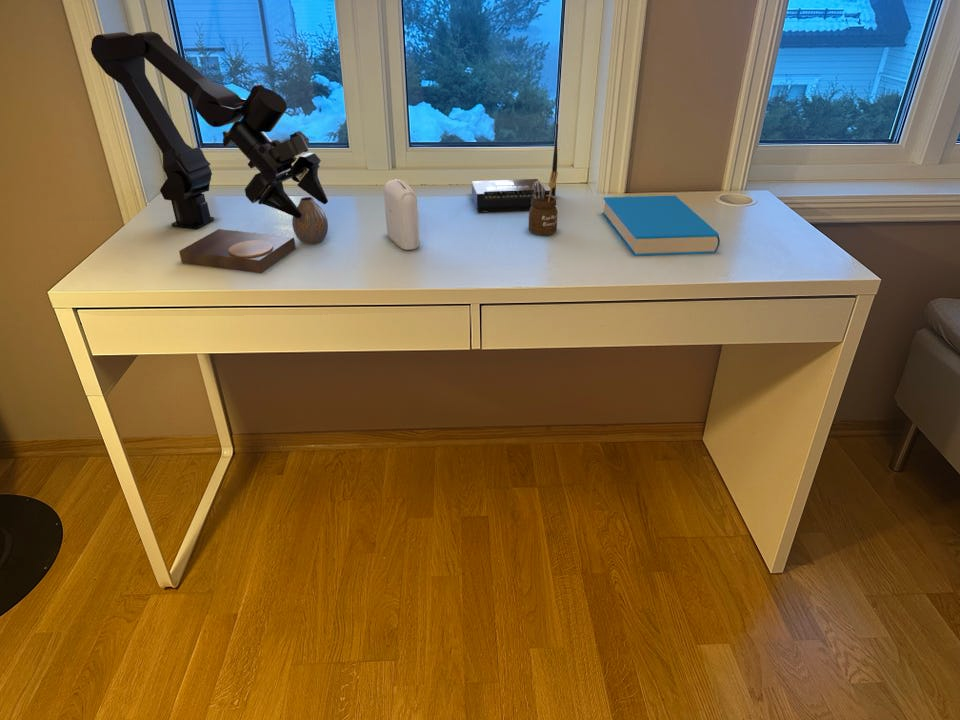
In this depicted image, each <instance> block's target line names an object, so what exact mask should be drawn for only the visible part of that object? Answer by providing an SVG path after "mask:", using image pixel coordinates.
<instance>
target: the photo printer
mask: <svg viewBox="0 0 960 720" xmlns="http://www.w3.org/2000/svg"><path fill="white" fill-rule="evenodd" d="M383 197H384V198H383V199H384V210H385V211H384V212H385V222H386V232H387V237H388V238H389V239H390V240H391V241H392V242H393V243H394V244H395V245H397V246H398V247H399V248H400V249H402V250H405V251H412V250H416V249H417V248H418V247H420V230H419V211H418V199H417V195H416V193H415V191H414V189H412V187H411V186H410V185H409V184H408V183H407V182H405V181H404V180H402V179H399V178H396V179H390V180H388V181H387V182H386V183H385V184H384V186H383Z"/></svg>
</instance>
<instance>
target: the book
mask: <svg viewBox="0 0 960 720" xmlns="http://www.w3.org/2000/svg"><path fill="white" fill-rule="evenodd" d="M603 201H604V207H603V212H602V214H601V215H602V216H603V217H604V219H605V220H606V222H607V223H608V224H609V226H610V227H611V228H612V230H613V231H614V232H615V233H616V235H617V236H618V237H619V238H620V240H621V241H622V242H623V244H624V245H625V247H626V248H627V249H628V250H629V252H630V253H631V254H632V256H633V257H635V256H636V257H639V256H642V257H643V256H667V255H668V256H669V255H697V254H716V253H717V250H719V247H720V243H721V239H720V237H719V236H720V233H719V232H717V230H715V229H714V228H713V227H712V226H711V225H710V224H708V222H707V221H705V220H704V219H703V218H702V217H700V216H699V214H697V213H696V212H695V211H693V210H692V208H690V207H689V206H688V205H687V204H686V203H685V202H684V201H682V200H681V199H680V198H679V197H678V196H677V195H643V196H641V195H639V196H605V197H603Z"/></svg>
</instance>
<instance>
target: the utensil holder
mask: <svg viewBox="0 0 960 720" xmlns="http://www.w3.org/2000/svg"><path fill="white" fill-rule="evenodd" d="M558 174H559V173H558V171H557V172H556V177H555V172H554V174H553V171H552V170H551V173H550V176H549V182H548V187H549V191H550V193H549V195H546V196H539V194H538V196H535V197H533V198H532V200H531V205H532V206H531V207H530V210H529V211H528V232H529V233H530V234H533V235H535V236H541V237H547V236H551V235H554V234H555V233H556V232H557V227H558V208H557V199H556V198H555V196H552V195H551V193H552V189H553V188H554V187H555V185H556V186H557V180H558V179H557V178H558ZM552 175H553V179H552ZM554 177H555V181H554ZM538 182H539V183H540V184H541V185H542V186H543V187H545V186H544V183H543V182H541V181H540V180H539V181H537V185H538ZM535 183H536V182H535ZM533 185H534V184H533ZM535 185H536V184H535ZM538 187H539V185H538ZM543 187H542V189H543ZM534 194H535V192H534ZM533 196H534V195H533Z"/></svg>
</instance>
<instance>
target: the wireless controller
mask: <svg viewBox="0 0 960 720" xmlns="http://www.w3.org/2000/svg"><path fill="white" fill-rule="evenodd" d="M554 133H555V135H554V145H553V153H552V164H551V165H552V166H551V169H552V170H551V172H552V171H553V174H554V172H555V177H556V172H558V138H559V124H558V123H555V131H554ZM555 177H554V181H555ZM552 179H553V175H552ZM537 181H539V182H540V180H539V179H538V178H521V179H519V178H518V179H498V180H496V179H494V180H493V179H492V180H471V198H472V201H473V204H474V206H475V209H476V210H477V213H478V214H493V213H515V212H516V213H517V212H519V213H521V212H529V210H530V207H531V206H532V205H531V200H532V198H533V197H535V196H538V194H539V196H549V193H550V189H549V190H547V189H546V188H545V186H543V184H542V183H541V182H540V183H541V184H542V185H541V184H540V183H539V182H538V185H539V187H538V185H537ZM535 182H536V183H535ZM533 184H534V185H533ZM535 184H536V185H535ZM542 187H543V189H542ZM556 191H557V184H556V185H555V187H554V188H553V189H552V193H551V197H556ZM534 192H535V194H534ZM533 195H534V196H533Z"/></svg>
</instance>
